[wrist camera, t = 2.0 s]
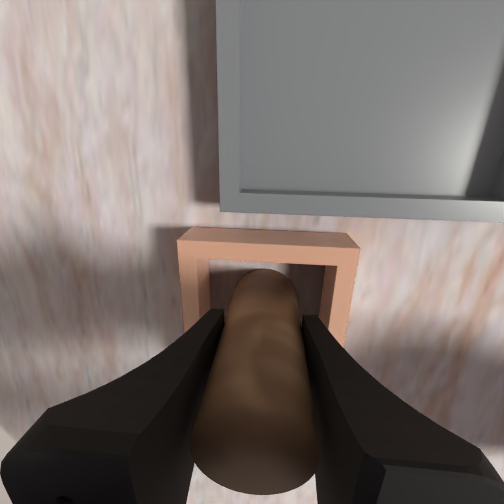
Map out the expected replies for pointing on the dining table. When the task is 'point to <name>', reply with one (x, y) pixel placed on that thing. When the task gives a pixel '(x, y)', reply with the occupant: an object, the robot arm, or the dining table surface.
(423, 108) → the tray
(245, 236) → the collar
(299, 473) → the dowel
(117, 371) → the dining table surface
